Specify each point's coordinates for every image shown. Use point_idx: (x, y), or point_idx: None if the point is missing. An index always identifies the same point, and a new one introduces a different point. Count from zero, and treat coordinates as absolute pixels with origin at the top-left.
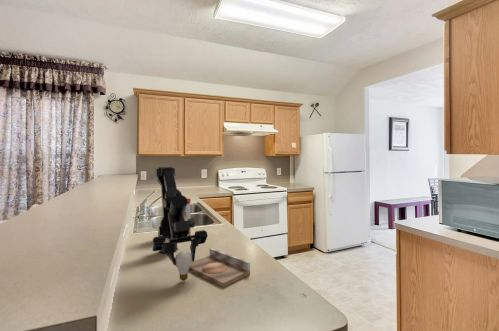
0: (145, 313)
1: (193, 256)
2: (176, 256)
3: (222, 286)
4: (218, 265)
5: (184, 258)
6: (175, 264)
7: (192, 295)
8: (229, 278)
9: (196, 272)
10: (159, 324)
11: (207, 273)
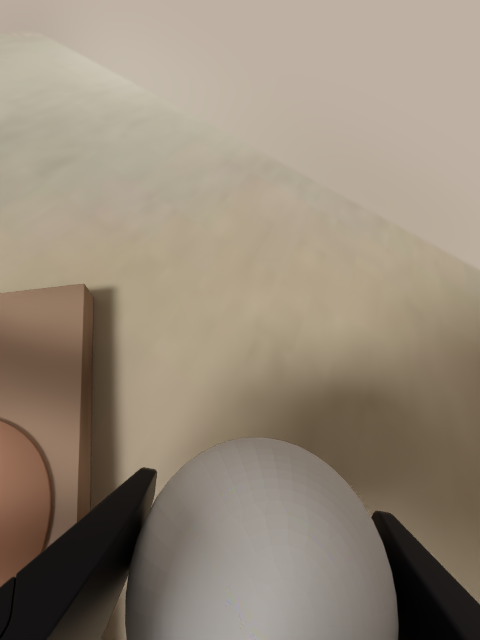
0: (468, 326)
1: (126, 500)
2: (396, 615)
3: (91, 302)
4: None
5: (290, 453)
6: (374, 513)
7: (256, 330)
8: (12, 306)
9: None
10: (415, 242)
11: (52, 471)
